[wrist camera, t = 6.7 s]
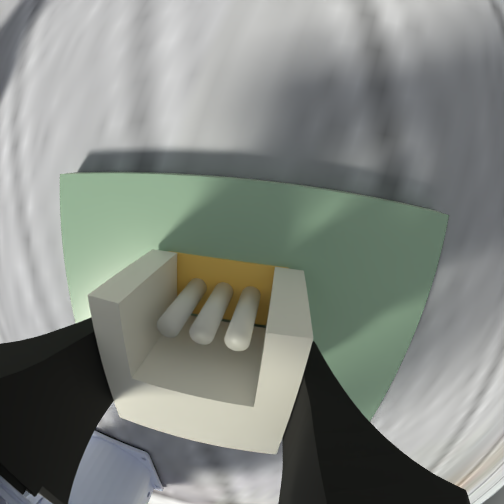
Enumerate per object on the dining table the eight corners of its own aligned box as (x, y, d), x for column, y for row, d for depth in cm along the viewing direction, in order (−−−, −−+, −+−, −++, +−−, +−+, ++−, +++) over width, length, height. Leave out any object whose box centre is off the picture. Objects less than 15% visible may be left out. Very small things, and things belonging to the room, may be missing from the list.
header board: (359, 418, 13) (369, 475, 9) (102, 371, 14) (67, 412, 10) (434, 209, 9) (497, 234, 5) (76, 172, 11) (10, 182, 7)
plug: (281, 377, 11) (276, 454, 7) (159, 354, 11) (119, 417, 8) (304, 270, 9) (313, 338, 6) (152, 249, 10) (87, 294, 6)
